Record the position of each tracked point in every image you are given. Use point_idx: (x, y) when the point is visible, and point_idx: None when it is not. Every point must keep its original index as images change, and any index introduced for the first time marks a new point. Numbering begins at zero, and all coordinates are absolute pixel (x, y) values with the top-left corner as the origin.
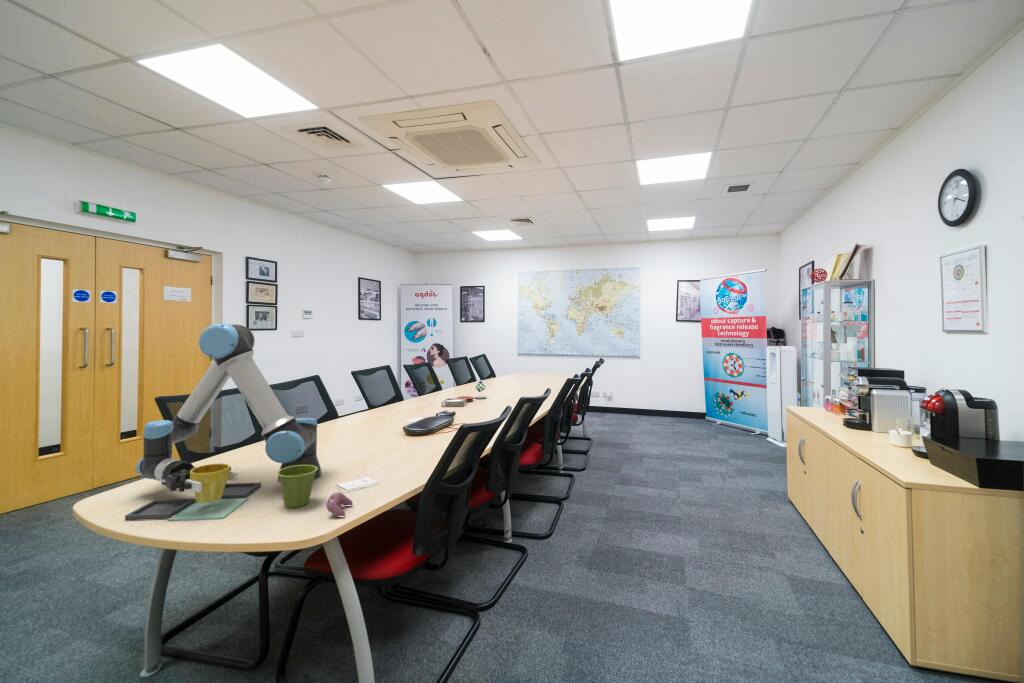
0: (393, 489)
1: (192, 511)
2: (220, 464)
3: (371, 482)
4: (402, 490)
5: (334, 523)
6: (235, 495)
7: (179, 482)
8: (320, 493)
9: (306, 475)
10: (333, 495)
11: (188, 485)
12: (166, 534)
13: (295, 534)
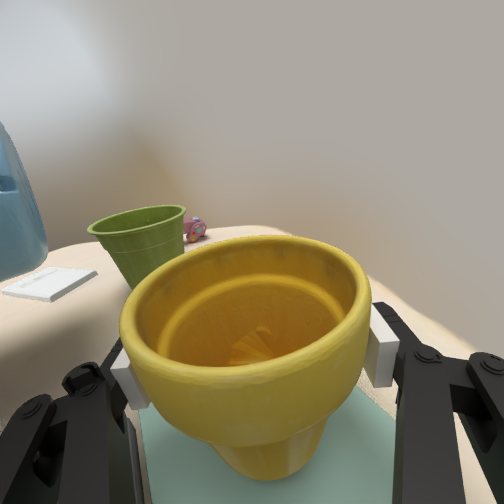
0: (89, 250)
1: (337, 472)
2: (135, 317)
3: (52, 269)
4: (96, 244)
5: (218, 231)
6: (133, 455)
7: (442, 364)
8: (95, 298)
9: (163, 209)
10: (185, 218)
11: (381, 305)
12: (435, 346)
13: (260, 234)
